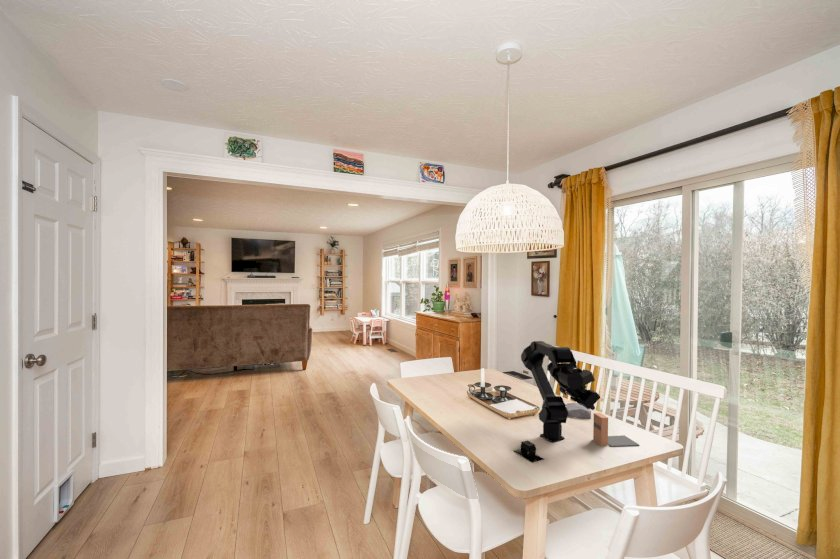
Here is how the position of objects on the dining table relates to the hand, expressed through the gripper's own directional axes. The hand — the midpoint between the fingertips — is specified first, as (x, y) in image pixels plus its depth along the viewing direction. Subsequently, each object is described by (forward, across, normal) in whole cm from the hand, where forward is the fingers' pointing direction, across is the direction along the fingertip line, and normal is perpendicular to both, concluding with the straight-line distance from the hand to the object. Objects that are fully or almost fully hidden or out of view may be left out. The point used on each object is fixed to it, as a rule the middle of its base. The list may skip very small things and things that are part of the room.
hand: (593, 408), depth 137 cm
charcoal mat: (+16, 0, +2) cm, 16 cm away
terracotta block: (+11, 0, +7) cm, 13 cm away
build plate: (-10, -7, +29) cm, 32 cm away
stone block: (+17, +29, +2) cm, 34 cm away
